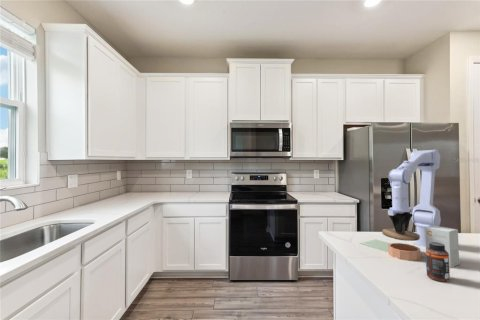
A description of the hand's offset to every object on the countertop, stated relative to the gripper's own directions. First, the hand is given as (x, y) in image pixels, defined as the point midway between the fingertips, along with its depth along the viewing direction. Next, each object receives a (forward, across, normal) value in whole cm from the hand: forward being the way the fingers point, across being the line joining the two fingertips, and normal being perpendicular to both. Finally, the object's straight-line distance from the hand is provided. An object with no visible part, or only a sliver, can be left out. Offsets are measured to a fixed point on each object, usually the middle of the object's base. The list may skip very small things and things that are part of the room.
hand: (401, 231), depth 102 cm
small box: (+10, -6, +12) cm, 17 cm away
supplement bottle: (+10, +11, +17) cm, 23 cm away
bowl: (+10, 0, +1) cm, 10 cm away
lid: (+3, 0, 0) cm, 3 cm away
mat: (+10, -5, -12) cm, 16 cm away
